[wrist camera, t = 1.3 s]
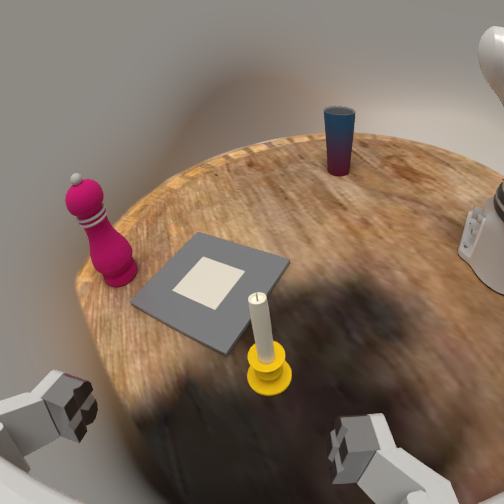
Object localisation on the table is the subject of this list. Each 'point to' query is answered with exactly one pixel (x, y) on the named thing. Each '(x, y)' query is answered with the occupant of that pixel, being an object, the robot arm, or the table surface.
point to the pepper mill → (100, 232)
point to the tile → (210, 289)
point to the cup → (339, 138)
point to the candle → (265, 352)
